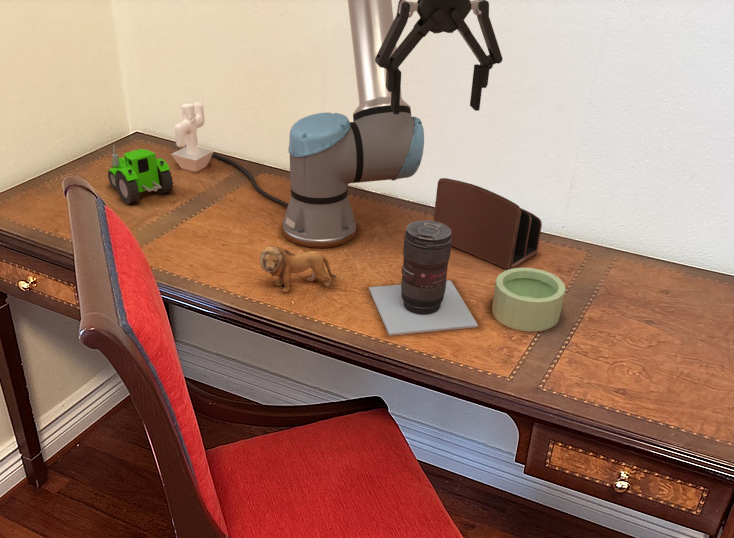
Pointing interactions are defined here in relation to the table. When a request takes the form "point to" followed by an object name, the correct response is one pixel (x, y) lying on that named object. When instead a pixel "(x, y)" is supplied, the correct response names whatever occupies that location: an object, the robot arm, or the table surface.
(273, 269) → the lion figurine
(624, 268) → the table surface
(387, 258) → the table surface
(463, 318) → the mat
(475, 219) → the letter holder
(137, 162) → the toy tractor
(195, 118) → the figurine
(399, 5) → the robot arm
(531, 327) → the bowl
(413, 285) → the camera lens
